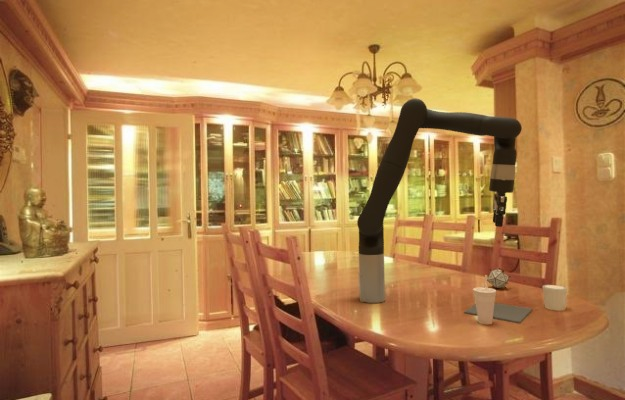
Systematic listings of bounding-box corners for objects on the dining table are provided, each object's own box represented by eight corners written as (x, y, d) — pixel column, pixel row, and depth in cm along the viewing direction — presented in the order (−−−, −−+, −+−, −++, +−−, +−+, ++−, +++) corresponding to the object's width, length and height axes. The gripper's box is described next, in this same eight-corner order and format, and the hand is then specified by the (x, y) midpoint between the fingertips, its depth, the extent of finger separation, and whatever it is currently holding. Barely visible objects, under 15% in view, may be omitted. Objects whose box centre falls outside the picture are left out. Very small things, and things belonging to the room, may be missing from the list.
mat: (519, 323, 107) (519, 321, 107) (464, 313, 118) (464, 311, 118) (532, 310, 119) (532, 308, 119) (480, 301, 130) (480, 300, 130)
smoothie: (496, 327, 104) (494, 278, 104) (471, 323, 108) (470, 276, 108) (498, 320, 110) (497, 274, 110) (475, 317, 113) (474, 272, 113)
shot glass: (560, 312, 116) (559, 290, 116) (538, 307, 122) (537, 286, 122) (572, 309, 119) (571, 287, 119) (550, 304, 125) (549, 283, 125)
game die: (503, 298, 146) (516, 281, 141) (482, 290, 148) (493, 273, 142) (502, 283, 154) (513, 266, 148) (481, 275, 155) (492, 259, 149)
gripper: (488, 176, 134) (483, 220, 136) (492, 177, 121) (487, 226, 123) (511, 178, 132) (506, 223, 133) (517, 179, 118) (512, 229, 120)
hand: (497, 224), depth 128 cm, fingers open, 8 cm apart
